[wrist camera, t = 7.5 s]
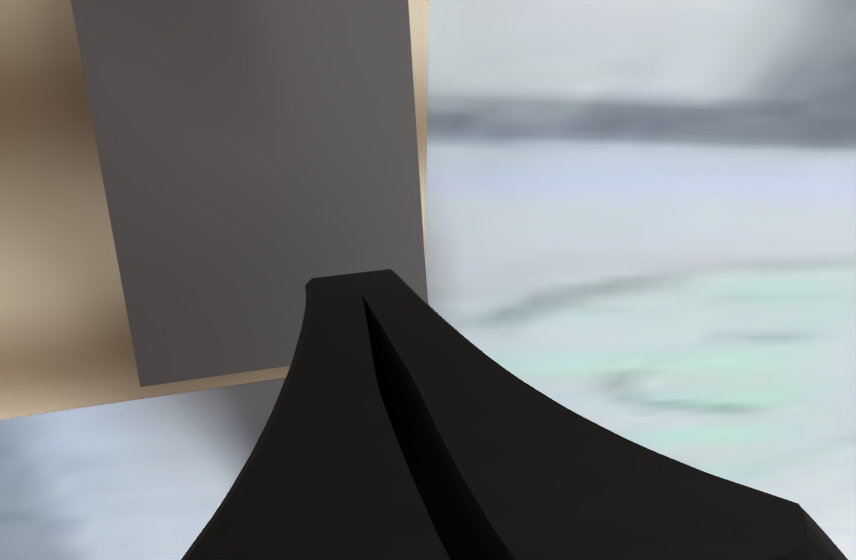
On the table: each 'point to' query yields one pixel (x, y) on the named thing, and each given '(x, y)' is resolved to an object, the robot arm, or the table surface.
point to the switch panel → (80, 225)
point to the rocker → (249, 166)
